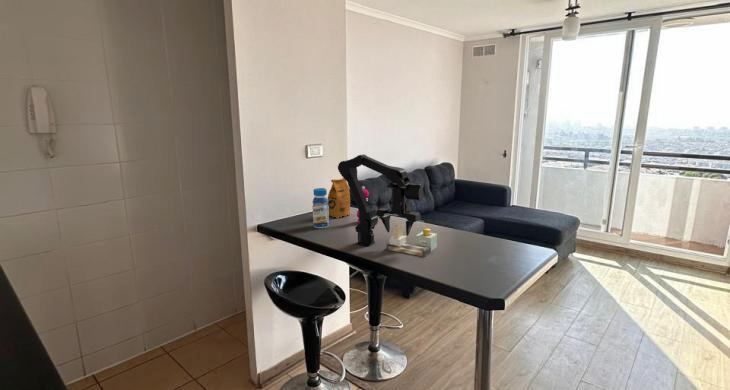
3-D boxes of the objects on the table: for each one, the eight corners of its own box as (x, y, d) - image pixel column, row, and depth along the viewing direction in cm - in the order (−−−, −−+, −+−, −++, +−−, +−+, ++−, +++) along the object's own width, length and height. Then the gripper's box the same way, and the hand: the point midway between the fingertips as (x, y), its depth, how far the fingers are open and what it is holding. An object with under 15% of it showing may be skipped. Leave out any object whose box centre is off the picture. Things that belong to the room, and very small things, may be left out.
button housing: (415, 249, 168) (415, 235, 166) (422, 244, 174) (422, 231, 173) (430, 251, 164) (430, 238, 163) (436, 246, 170) (437, 233, 169)
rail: (386, 249, 168) (386, 243, 167) (393, 245, 173) (393, 240, 172) (425, 256, 158) (425, 250, 158) (430, 252, 163) (430, 246, 163)
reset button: (421, 241, 168) (421, 229, 167) (424, 239, 171) (424, 228, 170) (428, 242, 166) (428, 231, 165) (431, 240, 169) (431, 229, 168)
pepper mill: (368, 224, 207) (368, 187, 203) (355, 223, 208) (355, 187, 204) (371, 221, 214) (371, 185, 210) (358, 220, 215) (358, 184, 211)
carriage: (389, 244, 166) (389, 226, 165) (396, 240, 171) (396, 223, 170) (400, 246, 164) (400, 228, 162) (406, 242, 169) (406, 224, 167)
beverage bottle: (332, 225, 205) (331, 188, 201) (322, 229, 198) (321, 191, 194) (320, 223, 209) (318, 187, 206) (309, 227, 202) (308, 189, 199)
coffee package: (325, 216, 224) (324, 179, 220) (340, 212, 233) (340, 176, 229) (337, 219, 218) (336, 180, 213) (352, 215, 227) (352, 178, 222)
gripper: (426, 197, 165) (425, 232, 169) (388, 193, 175) (387, 226, 178) (415, 202, 156) (414, 239, 159) (375, 197, 166) (375, 232, 169)
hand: (397, 233), depth 167 cm, fingers open, 9 cm apart
